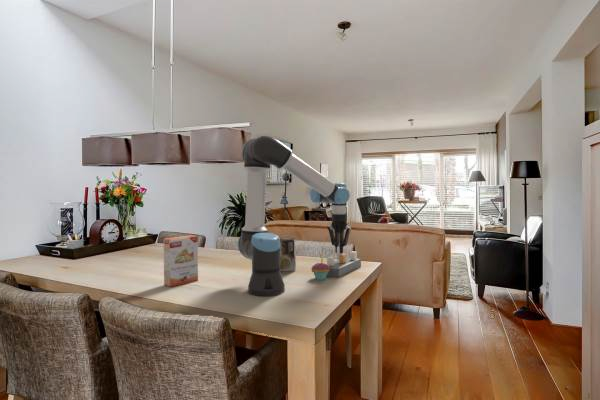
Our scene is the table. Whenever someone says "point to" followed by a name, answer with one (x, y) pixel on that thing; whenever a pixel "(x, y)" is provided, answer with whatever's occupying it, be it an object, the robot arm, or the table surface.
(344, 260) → the switch
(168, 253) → the cracker box
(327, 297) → the table surface
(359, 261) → the power bar
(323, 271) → the cupcake
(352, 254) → the switch
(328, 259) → the switch
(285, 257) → the coffee box
